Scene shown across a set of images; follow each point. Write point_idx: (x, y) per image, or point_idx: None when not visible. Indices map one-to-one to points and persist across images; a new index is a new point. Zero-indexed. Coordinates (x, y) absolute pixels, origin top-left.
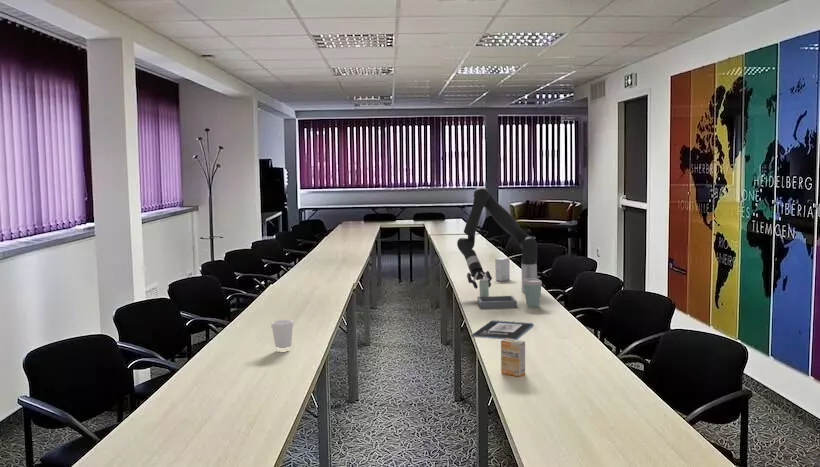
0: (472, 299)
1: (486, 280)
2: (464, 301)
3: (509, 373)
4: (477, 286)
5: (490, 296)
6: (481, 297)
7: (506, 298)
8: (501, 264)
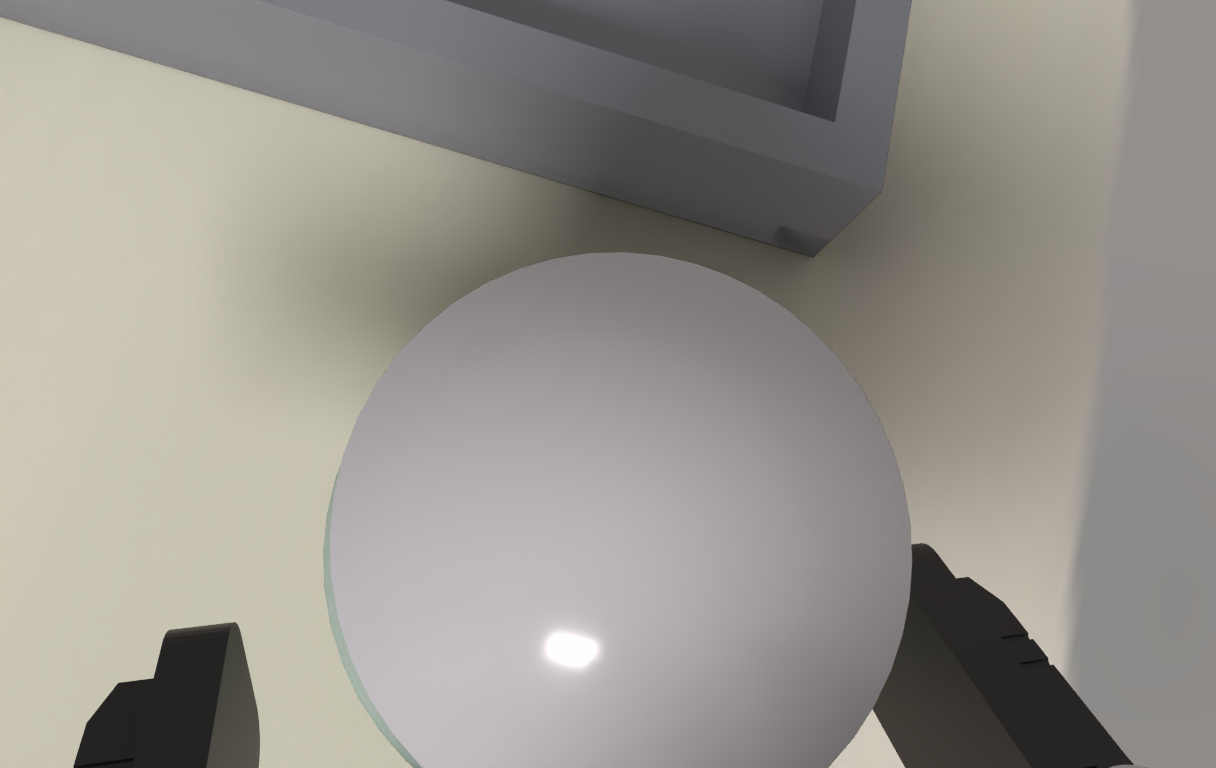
0: None
1: (536, 277)
2: (1056, 551)
3: None
4: None
5: (522, 57)
6: (778, 114)
7: None
8: None
